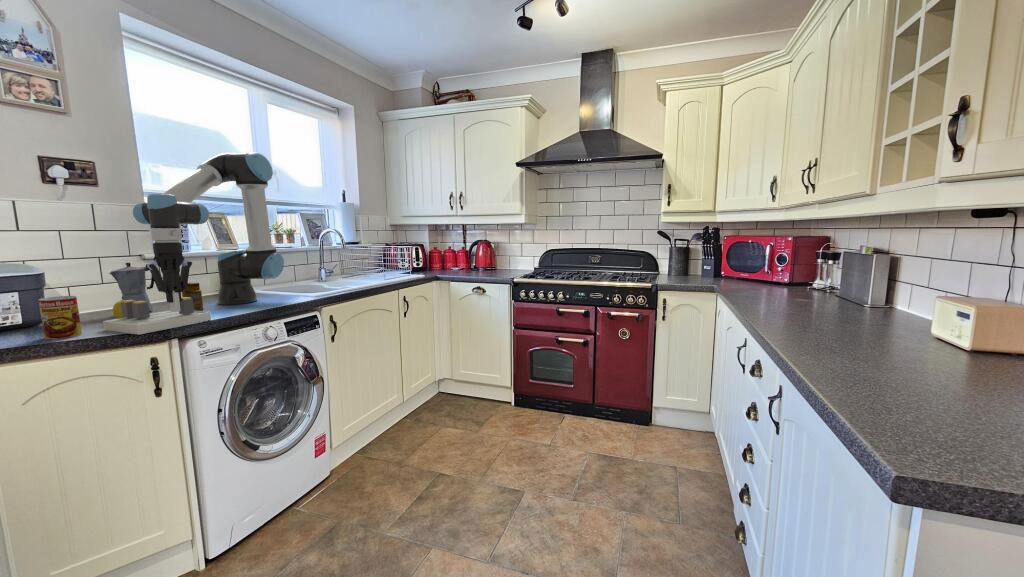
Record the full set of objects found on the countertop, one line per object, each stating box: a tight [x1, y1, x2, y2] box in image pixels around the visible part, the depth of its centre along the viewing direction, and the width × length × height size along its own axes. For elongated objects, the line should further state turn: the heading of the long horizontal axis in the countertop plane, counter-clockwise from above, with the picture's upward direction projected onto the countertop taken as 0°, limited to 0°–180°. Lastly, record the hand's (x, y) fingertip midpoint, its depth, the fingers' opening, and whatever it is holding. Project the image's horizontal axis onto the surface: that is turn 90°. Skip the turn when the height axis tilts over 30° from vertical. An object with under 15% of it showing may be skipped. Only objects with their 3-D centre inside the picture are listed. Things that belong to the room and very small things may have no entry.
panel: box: [103, 309, 212, 336], centre depth 142 cm, size 22×18×3 cm
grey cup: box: [132, 301, 151, 319], centre depth 137 cm, size 3×3×6 cm
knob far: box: [121, 300, 136, 318], centre depth 139 cm, size 3×3×6 cm
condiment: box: [181, 282, 204, 311], centre depth 161 cm, size 7×8×12 cm
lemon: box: [112, 299, 125, 319], centre depth 147 cm, size 6×6×8 cm
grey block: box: [179, 297, 194, 314], centre depth 144 cm, size 3×3×6 cm
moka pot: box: [108, 262, 155, 312], centre depth 165 cm, size 10×15×20 cm, turn 166°
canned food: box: [37, 295, 83, 340], centre depth 127 cm, size 8×8×12 cm
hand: (175, 311), depth 141 cm, fingers closed
